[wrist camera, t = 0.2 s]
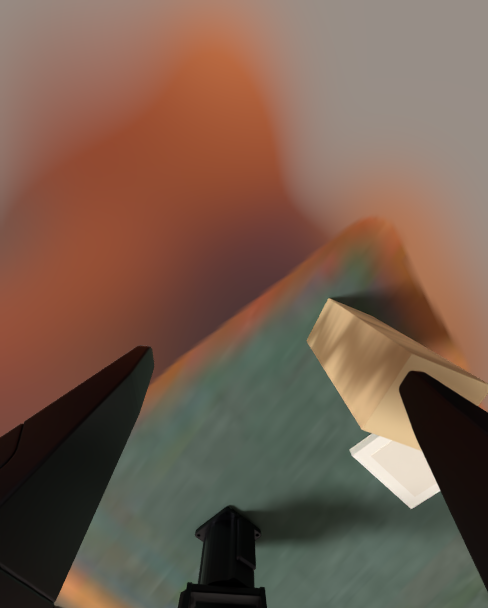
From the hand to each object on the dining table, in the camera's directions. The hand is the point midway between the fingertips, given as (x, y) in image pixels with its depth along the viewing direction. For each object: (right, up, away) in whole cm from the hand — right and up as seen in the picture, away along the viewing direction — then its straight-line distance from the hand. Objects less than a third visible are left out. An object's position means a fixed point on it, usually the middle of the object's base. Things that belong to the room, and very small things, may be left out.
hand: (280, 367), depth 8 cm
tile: (+20, -15, +20) cm, 32 cm away
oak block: (+9, 0, +16) cm, 18 cm away
